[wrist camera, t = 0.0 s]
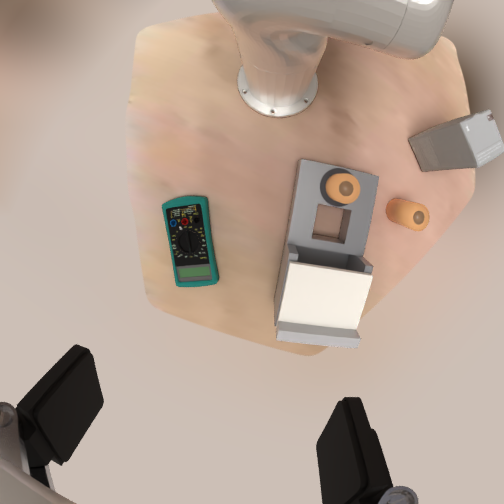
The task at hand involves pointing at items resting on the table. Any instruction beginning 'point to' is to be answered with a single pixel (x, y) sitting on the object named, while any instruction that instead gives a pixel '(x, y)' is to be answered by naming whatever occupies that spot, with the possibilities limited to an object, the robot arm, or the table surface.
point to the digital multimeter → (190, 241)
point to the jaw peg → (408, 214)
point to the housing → (304, 213)
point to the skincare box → (458, 143)
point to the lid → (322, 305)
